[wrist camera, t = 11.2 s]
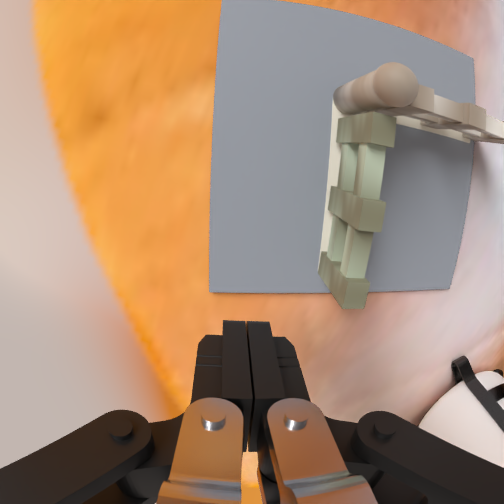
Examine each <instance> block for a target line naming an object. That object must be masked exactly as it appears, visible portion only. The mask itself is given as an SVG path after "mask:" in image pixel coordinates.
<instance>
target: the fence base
mask: <svg viewBox="0 0 504 504" xmlns="http://www.w3.org/2000/svg"><path fill="white" fill-rule="evenodd" d="M333 101H334V104H335V106H336V108H337V109H338V110H339V111H340V112H342V113H344V114H355V113H360V112H365V111H367V113H368V112H377V113H381V114H385V115H389V116H392V117H393V116H405V117H409V118H413V119H417V120H420V125H423V126H427V127H430V128H434V129H452V130H455V131H458V132H461V133H462V137H464V138H467V139H470V140H473V141H480V142H491V143H500V144H504V121H500V120H498V119H496V118H494V117H491V116H489V115H487V114H486V109H484V108H481V107H479V106H477V105H474V104H472V103H470V102H469V103H457V102H455V101H452V100H449V99H446V98H444V97H441V96H438V95H435V94H434V89H432V88H429V87H426V86H423V85H420V84H418V80H417V78H416V76H415V74H414V73H413V72H412V71H411V70H410V69H409V68H408V67H407V66H405V65H403V64H401V63H397V62H389V63H385V64H383V65H381V66H380V67H379V68H378V69H377V70H375V71H372V72H370V73H368V74H366V75H363V76H361V77H359V78H357V79H355V80H352V81H350V82H348V83H346V84H344V85H342V86H340V87H338V88H337V89H336V90H335V91H334V93H333Z"/></svg>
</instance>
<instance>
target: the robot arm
mask: <svg viewBox="0 0 504 504" xmlns="http://www.w3.org/2000/svg"><path fill="white" fill-rule="evenodd" d="M247 441H248V452H257V453H258V468H257V477H258V482H259V487H260V492H261V496H262V502H263V504H504V468H503V467H501V466H498V465H496V464H494V463H492V462H489V461H487V460H485V459H483V458H480V457H478V456H476V455H474V454H472V453H470V452H467V451H465V450H463V449H461V448H459V447H457V446H455V445H453V444H451V443H449V442H447V441H445V440H443V439H441V438H439V437H437V436H435V435H433V434H431V433H429V432H427V431H425V430H423V429H421V428H419V427H417V426H415V425H413V424H411V423H410V422H408V421H406V420H404V419H402V418H400V417H398V416H397V415H394V414H392V413H389V412H385V411H374V412H370V413H367V414H366V415H364V416H363V417H362V418H361V419H360V420H359V422H358V423H353V422H346V421H339V420H334V419H331V418H328V417H326V416H324V415H323V413H322V411H321V410H320V408H319V407H317V406H316V405H315V404H313V403H312V402H311V401H310V398H309V395H308V391H307V388H306V385H305V381H304V378H303V375H302V371H301V368H300V365H299V361H298V359H297V355H296V351H295V348H294V346H293V345H292V344H291V343H290V342H289V341H288V340H287V339H286V338H285V337H273V336H272V331H271V327H270V323H269V322H258V321H247V323H245V321H228V320H223V335H205V337H204V338H203V339H202V340H201V341H200V342H199V344H198V350H197V358H196V366H195V374H194V382H193V390H192V398H191V403H190V405H189V406H188V407H187V409H186V410H185V412H184V413H183V414H181V415H180V416H178V417H176V418H173V419H171V420H166V421H160V422H153V423H148V421H147V420H146V419H145V418H144V417H143V416H141V415H140V414H138V413H136V412H133V411H129V410H115V411H111V412H108V413H106V414H104V415H102V416H100V417H98V418H97V419H95V420H93V421H91V422H90V423H88V424H86V425H84V426H83V427H81V428H79V429H77V430H75V431H73V432H72V433H70V434H68V435H66V436H64V437H63V438H61V439H59V440H57V441H55V442H53V443H51V444H49V445H47V446H45V447H43V448H41V449H39V450H38V451H36V452H34V453H32V454H30V455H28V456H26V457H24V458H22V459H20V460H18V461H16V462H14V463H11V464H10V465H8V466H5V467H3V468H1V469H0V504H155V503H156V502H157V504H241V466H242V456H243V452H246V449H247Z"/></svg>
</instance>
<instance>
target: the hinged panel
mask: <svg viewBox="0 0 504 504" xmlns="http://www.w3.org/2000/svg"><path fill="white" fill-rule="evenodd" d="M396 119H397V118H396V117H392V116H389V115H385V114H381V113H377V112H368V113H363V114H358V115H353V116H348V117H343V118H338V127H337V137H336V142H337V143H342V150H341V159H340V167H339V175H338V183H337V186H331V189H330V197H329V204H328V210H329V211H330V212H332V213H333V219H332V226H331V232H330V239H329V245H328V251H327V252H326V251H321V257H320V263H319V269H318V274H319V276H320V277H321V279H322V280H323V281H324V283H325V284H326V286H327V287H328V289H329V290H330V292H331V293H332V295H333V296H334V298H335V299H336V300H337V302H338V303H339V305H340V306H341V308H342V309H364V307H365V303H366V299H367V295H368V291H369V287H370V282H369V281H368V280H367V279H366V278H365V273H366V268H367V263H368V259H369V254H370V249H371V244H372V239H373V233H374V232H381V231H382V225H383V220H384V214H385V208H386V202H384V201H382V200H379V198H380V191H381V185H382V177H383V170H384V162H385V153H386V147H390V148H394V141H395V131H396Z"/></svg>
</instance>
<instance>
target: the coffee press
mask: <svg viewBox="0 0 504 504" xmlns="http://www.w3.org/2000/svg"><path fill="white" fill-rule="evenodd" d="M451 366H452V371H453V374H454V377H455V386H454V387H453V388H451V389H450V390H449V391H448V392H447V393H445V394H444V395H443V396H442V397H441V398H440V399H439V400H438V401H437V402H436V403H435V404H434V405H433V406H432V407H431V409H430V410H429V411H428V412H427V414H426V415H425V416H424V418H423V419H422V421H421V423H420V424H419V426H417V427H419V428H421V429H423V430H425V431H427V432H429V433H431V434H433V435H435V436H437V437H439V438H441V439H443V440H445V441H447V442H449V443H451V444H453V445H455V446H457V447H459V448H461V449H463V450H465V451H467V452H470V453H472V454H474V455H476V456H478V457H480V458H483V459H485V460H487V461H489V462H492V463H494V464H496V465H498V466H501V467H503V468H504V378H503V371H502V370H500V369H496V370H494V371H483V372H479V373H476V374H474V372H473V370H472V368H471V365H470V363H469V361H468V359H467V358H466V357H465V356H462V357H460V358H459V359H457V360H455V361H454V362H452V364H451Z"/></svg>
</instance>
